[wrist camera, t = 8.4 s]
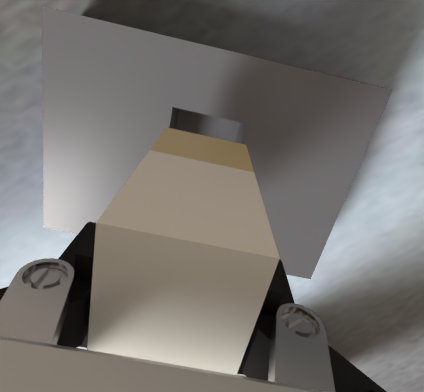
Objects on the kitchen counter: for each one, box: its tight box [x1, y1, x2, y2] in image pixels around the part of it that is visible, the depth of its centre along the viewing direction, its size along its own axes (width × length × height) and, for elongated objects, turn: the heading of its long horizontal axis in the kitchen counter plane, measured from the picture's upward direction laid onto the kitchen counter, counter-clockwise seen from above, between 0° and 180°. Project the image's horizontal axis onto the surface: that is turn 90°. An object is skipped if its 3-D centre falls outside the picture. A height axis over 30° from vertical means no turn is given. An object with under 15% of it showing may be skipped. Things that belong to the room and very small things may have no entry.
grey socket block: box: [42, 6, 392, 279], centre depth 23 cm, size 20×14×5 cm
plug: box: [87, 127, 280, 375], centre depth 12 cm, size 4×6×10 cm, turn 168°
